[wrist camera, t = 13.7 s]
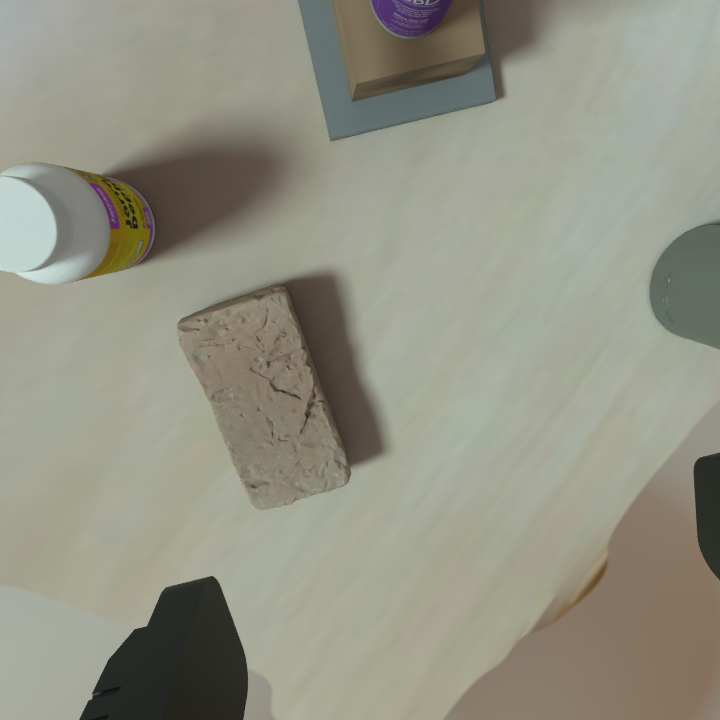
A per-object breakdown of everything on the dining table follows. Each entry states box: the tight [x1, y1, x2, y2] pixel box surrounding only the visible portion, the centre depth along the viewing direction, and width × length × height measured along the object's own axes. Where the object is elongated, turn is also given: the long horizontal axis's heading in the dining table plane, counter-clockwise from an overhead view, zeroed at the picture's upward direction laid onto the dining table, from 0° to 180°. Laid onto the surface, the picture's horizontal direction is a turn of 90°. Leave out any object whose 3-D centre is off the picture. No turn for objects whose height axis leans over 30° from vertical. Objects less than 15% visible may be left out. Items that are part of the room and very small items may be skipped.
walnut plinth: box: [330, 0, 485, 102], centre depth 33 cm, size 8×8×5 cm
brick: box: [177, 285, 351, 510], centre depth 40 cm, size 17×8×5 cm, turn 18°
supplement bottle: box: [0, 162, 155, 284], centre depth 32 cm, size 7×7×13 cm
